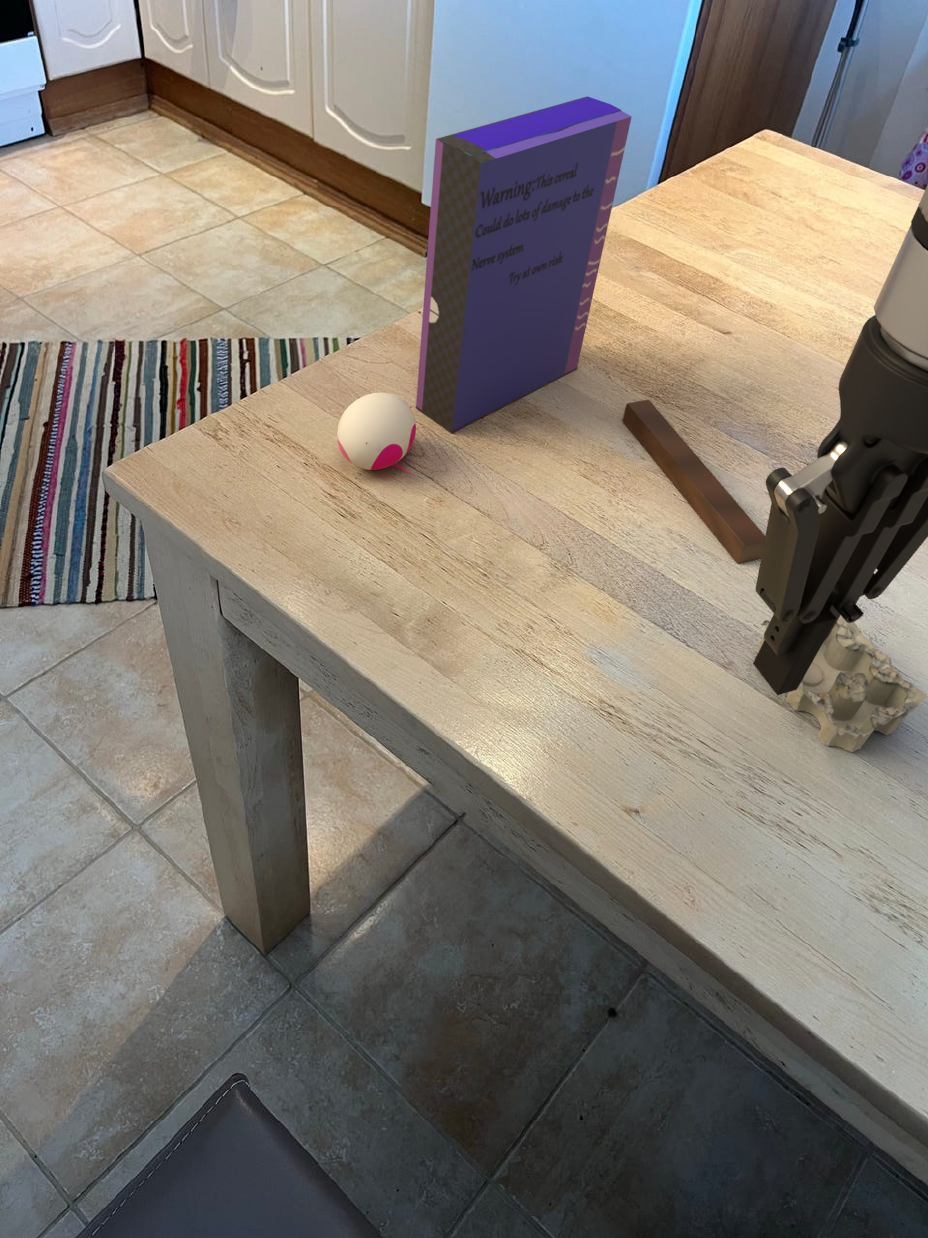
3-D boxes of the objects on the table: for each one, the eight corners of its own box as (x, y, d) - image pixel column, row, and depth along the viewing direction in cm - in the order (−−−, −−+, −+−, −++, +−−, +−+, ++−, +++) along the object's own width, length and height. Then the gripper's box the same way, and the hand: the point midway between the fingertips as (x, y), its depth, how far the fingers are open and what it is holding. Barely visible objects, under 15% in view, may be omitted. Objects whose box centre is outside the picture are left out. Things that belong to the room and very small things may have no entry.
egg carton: (738, 652, 71) (756, 615, 68) (816, 626, 73) (836, 589, 70) (832, 764, 64) (855, 728, 61) (913, 731, 67) (939, 695, 64)
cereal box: (541, 347, 96) (587, 93, 79) (576, 369, 94) (632, 113, 77) (415, 408, 87) (436, 135, 70) (451, 433, 85) (481, 159, 68)
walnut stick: (761, 558, 78) (769, 540, 77) (737, 563, 77) (745, 546, 76) (643, 417, 90) (649, 399, 89) (621, 420, 89) (626, 402, 88)
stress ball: (366, 516, 82) (403, 487, 76) (305, 443, 80) (338, 408, 75) (418, 472, 86) (457, 441, 80) (361, 401, 84) (396, 365, 79)
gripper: (999, 285, 47) (821, 613, 64) (785, 313, 43) (656, 656, 60) (1119, 367, 42) (893, 696, 59) (893, 406, 38) (720, 749, 55)
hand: (774, 676), depth 60 cm, fingers closed
